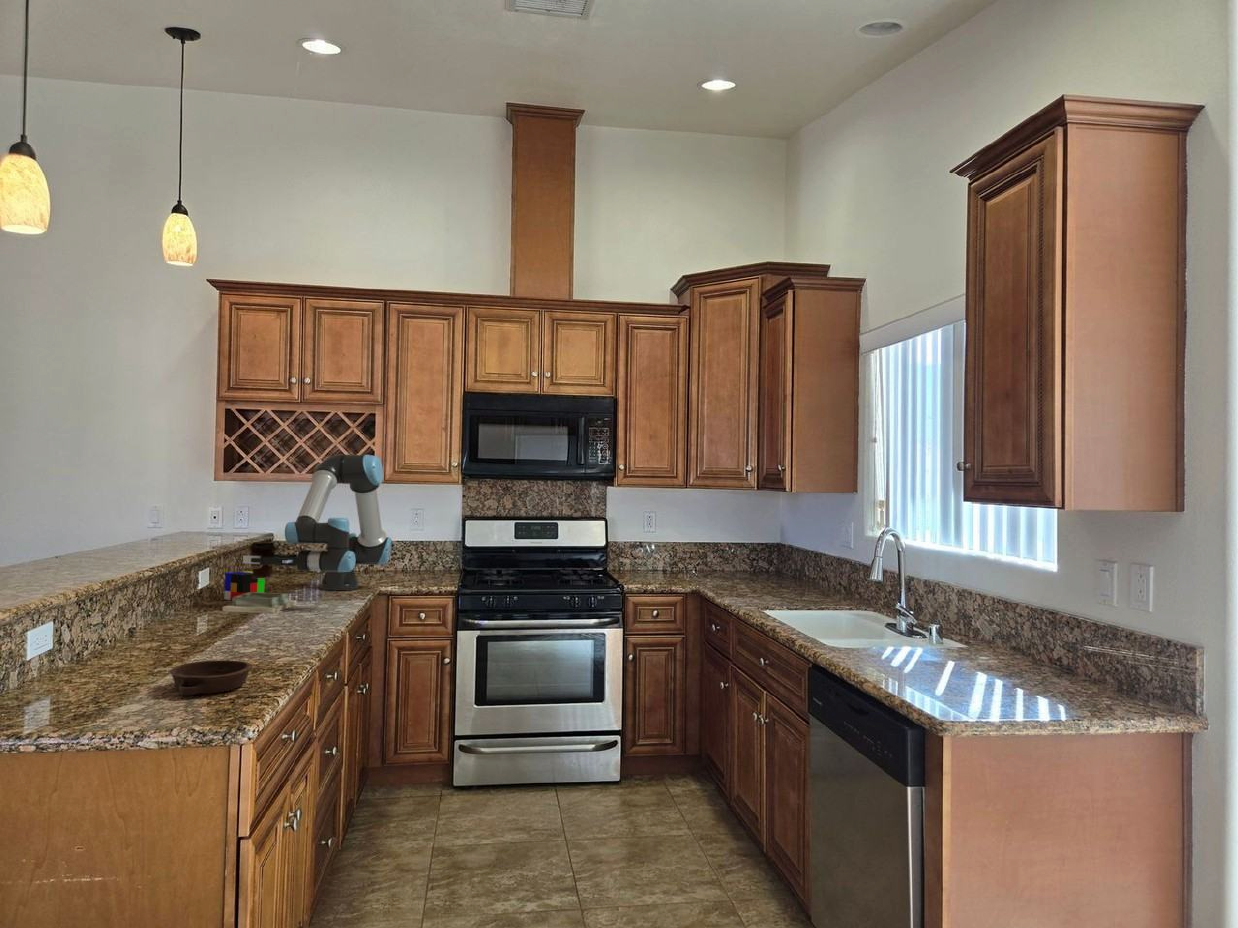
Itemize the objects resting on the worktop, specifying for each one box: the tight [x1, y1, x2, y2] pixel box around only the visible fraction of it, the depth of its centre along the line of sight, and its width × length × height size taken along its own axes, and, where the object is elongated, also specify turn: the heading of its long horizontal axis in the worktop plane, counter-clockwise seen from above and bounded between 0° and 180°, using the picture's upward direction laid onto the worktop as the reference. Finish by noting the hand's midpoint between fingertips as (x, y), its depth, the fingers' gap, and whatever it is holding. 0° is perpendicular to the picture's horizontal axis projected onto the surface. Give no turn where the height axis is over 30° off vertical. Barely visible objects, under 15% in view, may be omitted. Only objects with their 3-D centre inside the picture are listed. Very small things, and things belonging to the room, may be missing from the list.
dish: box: [169, 660, 253, 696], centre depth 206 cm, size 18×22×5 cm
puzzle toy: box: [224, 570, 266, 601], centre depth 338 cm, size 10×10×10 cm
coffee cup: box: [249, 541, 277, 580], centre depth 318 cm, size 9×8×13 cm
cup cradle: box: [222, 592, 297, 614], centre depth 319 cm, size 20×18×4 cm
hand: (248, 558), depth 319 cm, fingers closed on coffee cup, 7 cm apart
